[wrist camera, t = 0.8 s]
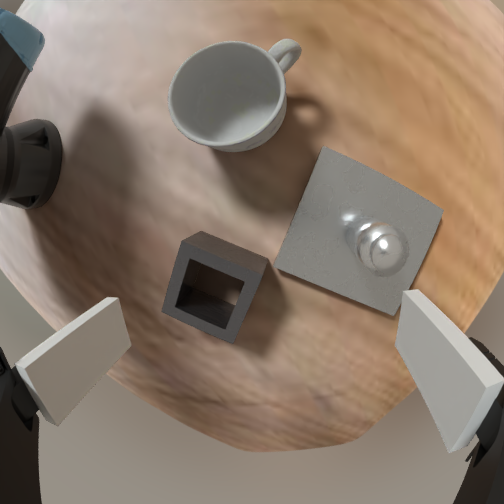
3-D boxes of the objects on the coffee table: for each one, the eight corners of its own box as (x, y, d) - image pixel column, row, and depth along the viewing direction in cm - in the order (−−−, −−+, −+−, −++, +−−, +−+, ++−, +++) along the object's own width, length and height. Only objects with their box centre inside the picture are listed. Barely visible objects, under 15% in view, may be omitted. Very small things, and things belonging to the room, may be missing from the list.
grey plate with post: (274, 263, 31) (266, 294, 22) (321, 147, 28) (335, 130, 18) (390, 310, 31) (417, 351, 22) (437, 209, 27) (483, 219, 18)
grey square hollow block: (181, 291, 34) (161, 311, 28) (201, 230, 32) (181, 240, 26) (242, 318, 34) (232, 344, 28) (268, 258, 31) (262, 275, 26)
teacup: (221, 173, 30) (198, 170, 22) (179, 100, 28) (148, 79, 21) (330, 116, 27) (342, 93, 19) (280, 45, 25) (276, 9, 17)
